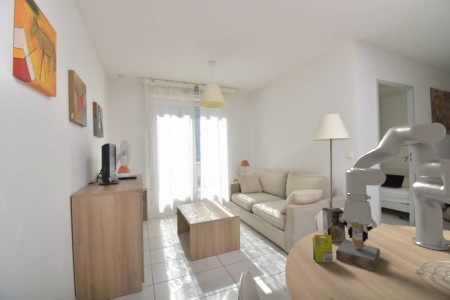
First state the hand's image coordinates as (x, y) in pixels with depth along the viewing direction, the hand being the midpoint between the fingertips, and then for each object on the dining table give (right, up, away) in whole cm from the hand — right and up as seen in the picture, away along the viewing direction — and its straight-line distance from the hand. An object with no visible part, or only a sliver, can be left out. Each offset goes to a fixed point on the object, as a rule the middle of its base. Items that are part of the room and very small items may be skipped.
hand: (357, 238), depth 87 cm
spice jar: (0, -4, 0) cm, 4 cm away
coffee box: (0, -9, +19) cm, 21 cm away
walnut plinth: (0, -9, 0) cm, 9 cm away
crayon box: (-16, -9, -2) cm, 19 cm away
